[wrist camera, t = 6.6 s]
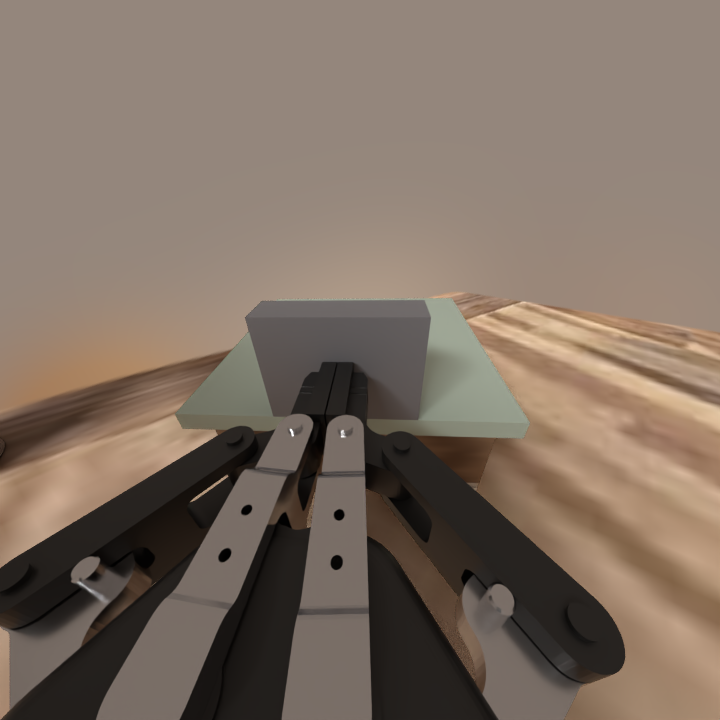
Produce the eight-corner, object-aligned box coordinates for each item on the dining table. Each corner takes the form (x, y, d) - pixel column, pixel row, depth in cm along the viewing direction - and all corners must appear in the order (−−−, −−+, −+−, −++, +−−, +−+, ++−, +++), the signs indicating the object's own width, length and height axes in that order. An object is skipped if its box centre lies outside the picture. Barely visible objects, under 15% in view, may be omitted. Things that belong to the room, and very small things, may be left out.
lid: (182, 428, 16) (120, 317, 12) (279, 309, 31) (265, 243, 27) (523, 438, 15) (577, 317, 11) (450, 308, 30) (461, 238, 26)
